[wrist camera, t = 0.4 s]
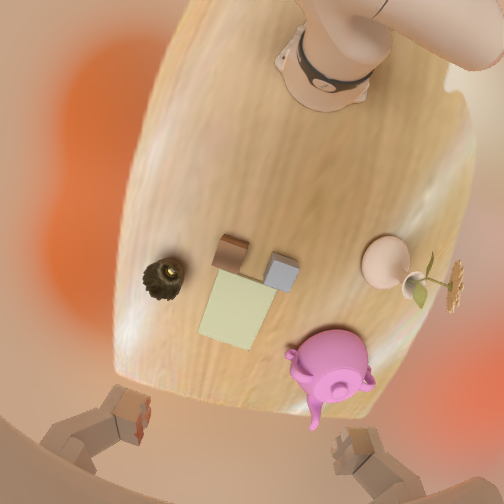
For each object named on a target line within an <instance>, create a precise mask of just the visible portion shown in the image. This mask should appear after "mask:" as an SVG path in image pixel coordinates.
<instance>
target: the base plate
mask: <svg viewBox="0 0 504 504" xmlns="http://www.w3.org/2000/svg"><path fill="white" fill-rule="evenodd" d="M276 292H277V289H275V288H273V287H270V286H267V285H264V282H261V281H258V280H255V279H253V278H250V277H247V276H244V275H242V274H239V273H238V275H237V274H234V273H231V272H228V271H226V270H223V269H219V272H218V275H217V278H216V281H215V284H214V286H213V289H212V292H211V295H210V298H209V301H208V304H207V307H206V310H205V313H204V315H203V318H202V321H201V324H200V327H199V330H198V333H199V334H202V335H205V336H207V337H210V338H213V339H216V340H219V341H222V342H224V343H227V344H230V345H233V346H236V347H239V348H242V349H246V350H250V348H251V346H252V344H253V342H254V340H255V337H256V335H257V333H258V331H259V329H260V327H261V325H262V322H263V320H264V318H265V316H266V314H267V312H268V309H269V307H270V305H271V303H272V301H273V298H274V296H275V294H276Z"/></svg>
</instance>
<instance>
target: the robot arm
mask: <svg viewBox="0 0 504 504" xmlns="http://www.w3.org/2000/svg"><path fill="white" fill-rule="evenodd" d="M294 1H295V2H296V3H297V4H298V5H299V7H300V8H301V10H302V11H303V13H304V14H305V16H306V19H307V21H306V22H305V23H304V24H303V25H299V26H298V28H297V29H296V32H295V35H294V37H293V38H292V39H291V40H290V41H289V43H288V44H287V45H286V47H285V48H284V49H283V50H282V52H281V53H280V54H279V56H278V57H277V58H276V60H275V63H274V64H275V66H276V68H277V69H278V70H279V71H280V72H281V74H282V75H283V77H284V81H285V84H286V87H287V89H288V90H289V92H290V94H291V95H292V96H293V97H294V98H295V99H296V100H297V101H298V102H299V103H301V104H302V105H304V106H306V107H308V108H310V109H312V110H316V111H321V112H332V111H337V110H340V109H342V108H344V107H346V106H347V105H349V104H352V103H361V102H364V101H365V100H366V98H367V89H368V87H369V85H370V84H369V78H370V76H371V75H372V73H373V71H374V69H375V68H376V67H377V66H378V65H379V64H380V63H381V62H382V61H384V60H385V59H386V58H387V57H388V55H389V53H390V51H391V48H392V35H391V31H390V28H391V29H392V30H394V31H396V32H398V33H400V34H402V35H403V36H405V37H407V38H408V39H410V40H412V41H413V42H415V43H417V44H418V45H420V46H421V47H423V48H425V49H426V50H428V51H429V52H431V53H433V54H435V55H437V56H439V57H441V58H443V59H445V60H447V61H449V62H451V63H453V64H455V65H457V66H459V67H461V68H463V69H465V70H468V71H481V70H485V69H487V68H490V67H492V66H493V65H495V64H496V63H497V62H499V61H500V59H501V58H502V57H503V55H504V15H503V13H502V10H501V8H500V5H499V3H498V1H497V0H294ZM283 57H284V58H285V60H283V59H282V58H283ZM150 402H151V399H150V396H147V395H145V394H142V393H139V392H137V391H134V390H131V389H128V388H126V387H123V386H121V385H118V384H116V385H115V386H114V387H113V388H112V390H111V391H110V393H109V394H108V396H107V397H106V399H105V401H104V402H103V404H102V405H101V407H100V409H98V408H94V409H92V410H89V411H87V412H84V413H82V414H79V415H77V416H74V417H71V418H69V419H66V420H63V421H61V422H57V423H55V424H53V425H52V426H51V428H50V429H49V430H48V432H47V433H46V435H45V436H44V438H43V439H42V440H41V442H40V443H39V444H38V443H37V442H35V441H34V440H32V439H30V438H29V437H28V436H26V435H25V434H24V433H22V432H21V431H19V430H18V429H17V428H15V427H14V426H13V425H11V424H10V423H9V422H7V421H6V420H5V419H4V418H2V416H0V504H174V503H170V502H166V501H162V500H159V499H156V498H153V497H149V496H146V495H143V494H140V493H137V492H135V491H132V490H129V489H126V488H124V487H121V486H119V485H116V484H114V483H111V482H109V481H106V480H104V479H102V478H100V477H98V476H95V474H96V471H97V470H96V468H95V466H94V464H93V462H92V460H91V458H92V457H93V456H95V455H97V454H99V453H100V452H102V451H104V450H105V449H107V448H109V447H111V446H112V445H114V444H115V443H117V442H119V441H120V440H122V441H125V442H128V443H131V444H134V445H136V446H139V445H140V442H141V440H142V438H143V435H144V433H143V429H145V428H147V426H148V423H149V420H150V416H151V408H150V407H149V405H150ZM331 453H332V456H333V458H335V459H336V461H335V462H334V468H335V473H336V475H349V474H353V476H354V478H355V479H356V480H357V481H358V482H359V483H360V485H361V486H362V487H363V488H364V489H365V490H366V491H367V492H368V493H369V495H370V496H371V497H372V498H373V499H374V500H373V501H371V502H370V503H369V504H504V502H503V499H502V497H501V495H500V492H499V490H498V489H497V487H496V486H495V485H494V484H492V483H491V482H489V481H487V480H486V479H484V478H482V477H479V476H477V477H473V478H471V479H469V480H466V481H464V482H462V483H460V484H457V485H455V486H452V487H450V488H448V489H445V490H443V491H440V492H437V493H434V494H431V495H428V496H426V493H425V490H424V488H423V485H422V482H421V480H420V477H419V476H417V475H416V474H415V473H413V472H412V471H411V470H409V469H408V468H407V467H406V466H404V465H403V464H402V463H400V462H399V461H398V460H397V459H395V458H394V457H393V456H392V455H390V454H389V453H388V452H387V453H385V451H384V448H383V445H382V442H381V440H380V437H379V435H378V432H377V429H376V428H375V427H348V428H347V427H345V428H343V429H342V430H341V432H340V436H338V437H337V438H335V440H334V441H333V444H332V447H331Z"/></svg>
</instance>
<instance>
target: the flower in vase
mask: <svg viewBox="0 0 504 504" xmlns="http://www.w3.org/2000/svg"><path fill="white" fill-rule="evenodd" d="M433 260H434V255H433V251H432V258H431V260H430V263H429V265H428V267H427V271H426V277H427V276H428V274H429V272H430V269H431V267H432V264H433ZM409 266H410V254H409V250H408V248H407V246H406V244H405V243H404V242H403V241H402V240H401V239H399V238H397V237H394V236H384V237H381V238H379V239H377V240H375V241H374V242H373V243H372V244H371V245H370V246H369V247H368V249H367V250H366V252H365V254H364V256H363V260H362V274H363V277H364V279H365V280H366V282H367V283H368V284H369V285H370V286H372V287H374V288H377V289H389V288H392V287H394V286H396V285H398V284H399V283H401V284H402V293H403V295H404V297H405V298H407V299H414V300H415V302H416V303H417V305H418V306H419V307H420V308H421V309H422V308H423V305H424V303H425V300H426V297H427V290H426V289H425V285H426V280H431V281H433V282H436V283H438V284H441V285H443V286H446V287H448V293H447V305H446V306H447V311H448V313H451V311H452V313H453V312H454V304H455V303H456V306H457V307H458V306H459V298H460V291H462V290H463V288H464V284H463V283H462V282H461V281H462V279H463V272H464V267H462V268H461V260H459V261H457V262H456V263H455V265H454V267H453V270H452V273H451V277H450V281H449V284H448V285H446V284H444V283H441V282H439V281H436V280H434V279H431V278H425V276H424V274H423V273H422V272H419V271H414V272H412V273H409V272H408V270H409Z"/></svg>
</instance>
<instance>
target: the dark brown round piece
mask: <svg viewBox="0 0 504 504" xmlns="http://www.w3.org/2000/svg"><path fill="white" fill-rule="evenodd" d="M170 268H172V269H173V270H174V271H175V272H172V271H171V270H170ZM144 274H145V275H144V276H143V284H144V285H145V286H146V291H149V294H150V295H151V297H153V298H157V300H161V299H162V298H163V299H167V301H169V300H170V299H171V300H173V299H174V298H175V297H176V295H178V294H179V291H180V289H181V286H182V283H183V280H184V272H183V269H182V267H181V265H180V264H179V263H178V262H177V261H175V260H173V259H162V260H159V261H157V262H155V263H153V264H151V265H149V266H148V267H147V269H146V270H145V271H144Z"/></svg>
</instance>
